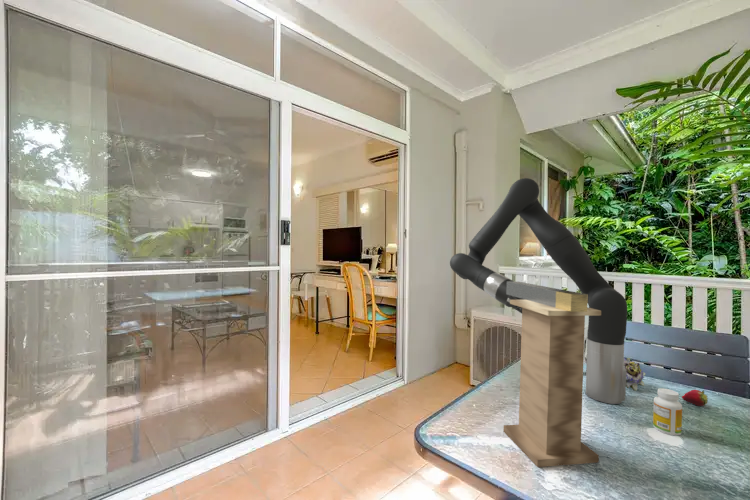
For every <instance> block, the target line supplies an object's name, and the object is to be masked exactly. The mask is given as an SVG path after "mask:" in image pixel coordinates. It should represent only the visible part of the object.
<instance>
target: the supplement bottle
mask: <svg viewBox="0 0 750 500" xmlns="http://www.w3.org/2000/svg"><path fill="white" fill-rule="evenodd" d="M679 398H680V394H679V392H677V391H675V390H672V389H668V388H663V387H662V388H660V387H659V388H657V396H655V397H654V398H653V411H652V415H653V416H652V426H653V428H655V429H656V430H657V431H659V432H661V433H663V434H667V435H669V436H681V435H682V432H683V431H682V427H683V405H682V403H681V402H680V401H679V400H680V399H679Z"/></svg>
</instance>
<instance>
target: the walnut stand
mask: <svg viewBox="0 0 750 500" xmlns="http://www.w3.org/2000/svg"><path fill="white" fill-rule="evenodd" d="M510 304H513V305H516V306H519V307H522V313H521V336H520V337H521V338H520V339H521V341H520V343H521V344H520V373H519V375H520V376H519V403H518V405H519V406H518V407H519V409H518V424H507V425H504V424H503V433H504V434H505V435H506V436H507V437H508V438H509V439H510V440H511V441H512V442H513V443H514V444H515V445H516V446H517V448H519V450H520V451H521V452H522V453H523V454H524V455H525V456H526V457H527V458H528V459H529V460H530V461H531V462H532V463H533V464H534V466H536V467H537V468H544V467H555V466H557V467H559V466H568V465H569V466H571V465H581V464H582V465H583V464H593V463H599V462H600V460H599V459H600V456H599V454H598V453H597V452H595V451H594V450H593V449H592V448H590V447H589V446H587V445H586V444H585V443H584V442H582V423H583V422H582V420H583V416H582V414H583V413H582V412H583V392H584V391H583V388H584V386H583V383H584V357H585V356H584V353H585V351H584V350H585V326H586V325H585V324H586V323H585V322H586V317H589V316H599V315H601V310H596V309H592V308H589V306H587V312H570V311H566V310H562V309H559V308H555V307H552V306H548V305H544V304H541V303H537V302H533V301H529V300H510Z"/></svg>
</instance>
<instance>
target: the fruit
mask: <svg viewBox="0 0 750 500" xmlns="http://www.w3.org/2000/svg"><path fill="white" fill-rule="evenodd" d="M681 398H682V400H684V401H685V402H688V403H689V402H690V404H691V403H692V405H694V404H695V405H694V406H697V407H702V406H705V407H706V405H707V404H708V399H709V398H708V395H707V394H705V391H704V390H699V389H692V390H688V391H687V392H685V393H684V394H683V395H682V396H681Z"/></svg>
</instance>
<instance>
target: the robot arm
mask: <svg viewBox="0 0 750 500" xmlns="http://www.w3.org/2000/svg"><path fill="white" fill-rule="evenodd" d="M539 195H540V187H539V184H538V183H537V182H536V180H533V179H531V178H529V177H528V178H527V177H524V178H520V179H517V180H516V181H514V182H513V184H511V186H510V188H509V190H508V192H507V194H506V196H505V198H504V199H503V201H502V202H501V204H500V206H498V208H497V209H496V210H495V212H494V214H493V215H492V216H491V217H490V218H489V219H488V220H487V221H486V223H485V224H484V225H483V226H482V227H481V228H480V229H479V231H478V232H476V234H475V236H474V237H473V238H472V239H471V240H470V242H469V244H468V248H469V252H468V254H466V253H462V252H458V253H456V254H454V255H452V256H451V258H450V259H449V265H450V268H451V270H452V271H453V272H454V273H455V274H457V276H458V277H460V278H461V279H463V280H468V281H470V282H471V283H472V284H473V285H474V286H475V287H477V288H478V289H480V290H481V291H483V292H484V293H486V294H488V295H489V296H490V297H491V298H492V299H494V300H496V301H498V302H499V303H501V304H502V305H504V306H505V307H506V308H507V307H508V308H512V309H514V310H516V312H519V313H520V314H522V307H519V306H516V305H513V304H510V300H526V299H522V298H518V297H515V296H511V295H507V294H506V289H507V281H509V282H515V281H514V280H512V279H510V278H509V277H506V276H505V275H503V274H500V273H498V272H496V271H494V270H493V269H491V268H489V267H486V266H485V265H483V264H484V261H485V259H486V257H487V255H488V254H489V253H490V252H491V250H492V249H493V248H494V247H495V246H496V245H497V243H498V242H499V241H500V239H501V238H502V237H503V235H504V234H505V233H506V230H507V229H508V228H509V226H510V225H511V224H512V222H513V221H514V220H515V219H516V218H517V216H519V217H520V218H521V219H522V220H523V221H524V222H525V223H526V224H527V226H528V227H529V229H531V232H532V233H533V234H534V236H535V237H536V238H537V240H538V241H539V243H540V244H541V246H542V247H543V249H544V250H545V251H546V252H547V254H548V256H549V257H550V258H551V259H552V260H553V261H554V263H555V264H556V265H557V267H559V268H560V269H561V270H562V271H563V272H564V274H565V275H567V276H568V278H570V279H571V280H572V281H573V282H574V284H575V285H576V287H578V290H579V291H580V293H583V294H588V301H587V306H588V308H592V309H596V310H601V315H599V316H588V325H587V334H586V335H587V338H586V339H587V341H586V371H585V372H586V373H585V395H586V396H587V397H588V398H591V399H593V400H595V401H598V402H601V403H604V404H605V403H606V404H610V405H611V404H613V405H616V404H617V405H618V404H622V403H623V402H625V401H626V396H627V395H626V394H627V393H626V392H627V387H626V369H625V368H624V358H625V340H626V339H625V338H626V334H627V322H628V302H627V300H626V298H625V296H623V294H621V293H620V292H619V291H618V290H616V289H615V288H614V287H613V286H612V285H611V284H609V282H608V281H607V280H606V279H605V278H604V277H603V276H602V275H601V274H600V272H598V270H597V268H596V267H595V266H594V264H593V262H592V260H591V259H590V257H589V255H588V253H587V252H586V250H585V249H584V247H583V246H582V244H581V243H580V242H579V241H578V239H577V238H576V237H575V235H574V234H573V233H572V232H571V231H570V230H569V229H568V228H567V227H566V226H565V225H563V224H562V223H561V222H559V221H558V220H557V219H555V218H554V217H553V216H551V215H550V214H549V213H548V212H547V211H546V209H545V208H544V207H543V205H542V204H541V202H540V201H539V200H538V198H539Z"/></svg>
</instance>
